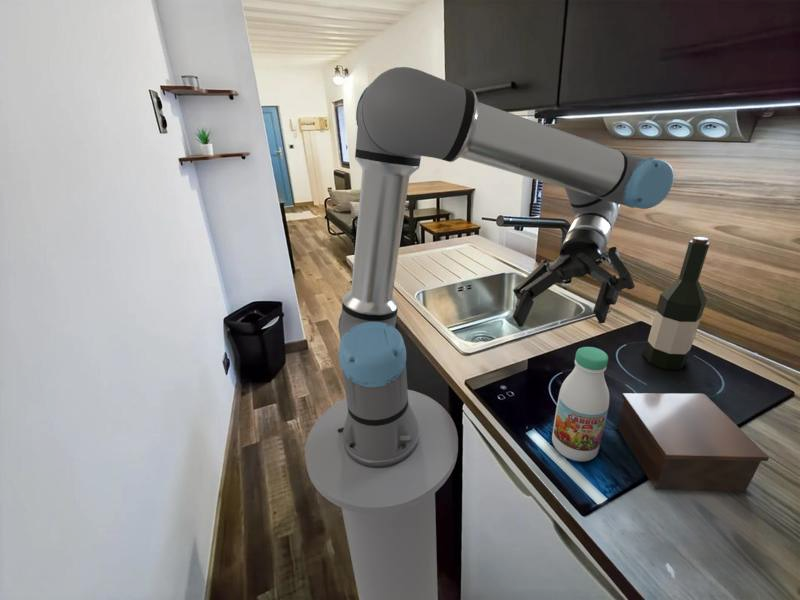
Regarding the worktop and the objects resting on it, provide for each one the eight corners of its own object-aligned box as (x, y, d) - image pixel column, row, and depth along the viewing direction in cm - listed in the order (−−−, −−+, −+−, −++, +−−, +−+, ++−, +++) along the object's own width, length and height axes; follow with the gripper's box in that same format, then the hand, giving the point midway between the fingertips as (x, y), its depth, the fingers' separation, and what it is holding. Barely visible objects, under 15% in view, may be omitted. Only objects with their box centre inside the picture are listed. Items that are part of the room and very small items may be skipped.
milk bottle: (544, 432, 69) (557, 343, 61) (582, 427, 70) (601, 338, 61) (564, 465, 62) (582, 370, 54) (607, 460, 63) (631, 365, 54)
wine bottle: (635, 353, 90) (666, 235, 78) (662, 347, 92) (697, 231, 79) (665, 372, 83) (704, 246, 70) (694, 365, 85) (738, 241, 72)
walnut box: (653, 491, 57) (666, 455, 54) (613, 425, 70) (622, 393, 66) (750, 494, 56) (769, 457, 52) (691, 427, 68) (704, 393, 65)
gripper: (666, 245, 63) (650, 333, 52) (533, 268, 82) (499, 336, 71) (655, 209, 60) (634, 294, 49) (519, 241, 79) (481, 308, 68)
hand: (554, 319), depth 60 cm, fingers open, 13 cm apart
